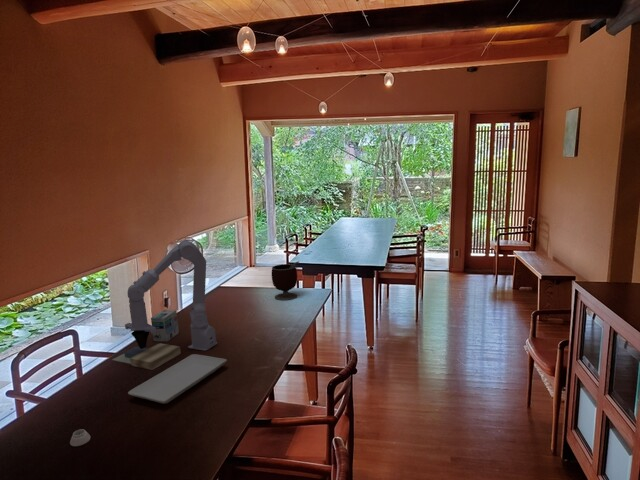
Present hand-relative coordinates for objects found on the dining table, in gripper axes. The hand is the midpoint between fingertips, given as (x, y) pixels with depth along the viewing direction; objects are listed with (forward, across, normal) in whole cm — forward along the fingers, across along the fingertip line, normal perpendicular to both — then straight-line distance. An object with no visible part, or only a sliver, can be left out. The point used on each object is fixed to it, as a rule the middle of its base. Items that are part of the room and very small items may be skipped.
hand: (143, 347), depth 180 cm
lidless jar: (+4, +26, -48) cm, 55 cm away
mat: (+4, -5, 0) cm, 6 cm away
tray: (+5, +30, -12) cm, 32 cm away
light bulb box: (+4, -7, +20) cm, 21 cm away
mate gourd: (+4, +17, +86) cm, 87 cm away
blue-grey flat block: (+4, -3, 0) cm, 5 cm away
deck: (+4, +6, 0) cm, 8 cm away
